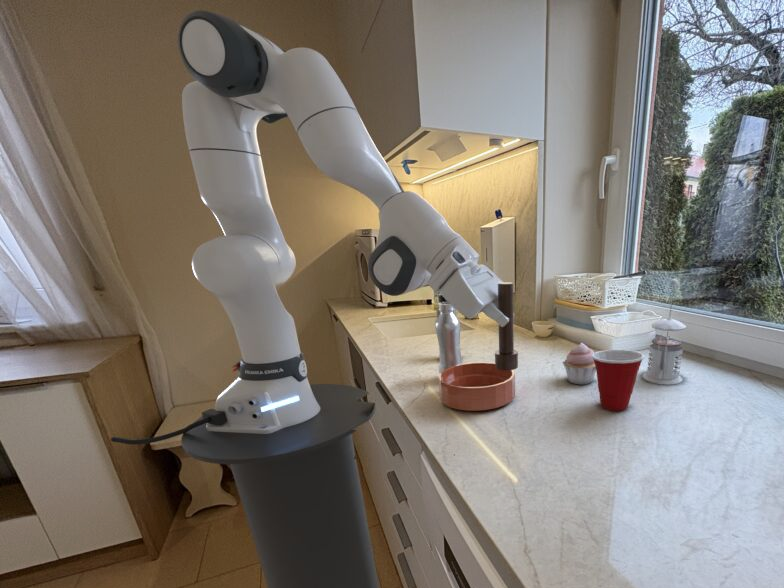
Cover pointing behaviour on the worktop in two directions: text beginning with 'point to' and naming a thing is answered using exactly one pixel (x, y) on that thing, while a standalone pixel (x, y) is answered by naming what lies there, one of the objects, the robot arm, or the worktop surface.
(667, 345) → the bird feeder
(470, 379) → the bowl
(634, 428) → the worktop surface
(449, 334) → the silver elongated piece
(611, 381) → the plastic cup
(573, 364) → the cupcake
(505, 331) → the stirring stick
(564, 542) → the worktop surface
